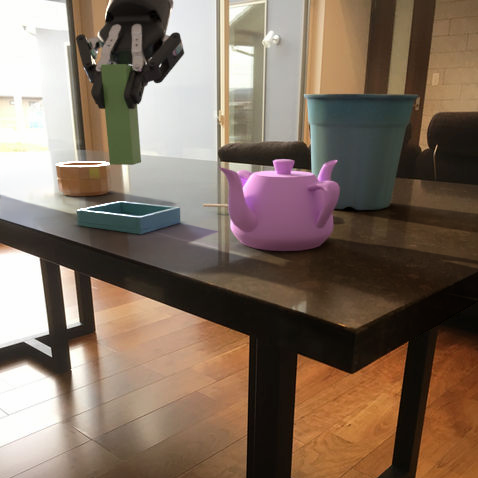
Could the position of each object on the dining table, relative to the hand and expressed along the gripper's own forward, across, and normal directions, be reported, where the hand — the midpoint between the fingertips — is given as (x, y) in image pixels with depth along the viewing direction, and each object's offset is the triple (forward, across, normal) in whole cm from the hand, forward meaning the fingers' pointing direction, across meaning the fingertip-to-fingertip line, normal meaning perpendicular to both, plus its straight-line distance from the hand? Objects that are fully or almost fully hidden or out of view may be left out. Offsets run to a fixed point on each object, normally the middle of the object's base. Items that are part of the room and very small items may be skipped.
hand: (114, 102), depth 60 cm
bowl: (-9, -18, +29) cm, 35 cm away
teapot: (+13, +20, +8) cm, 25 cm away
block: (+3, 0, +6) cm, 7 cm away
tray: (+9, 0, +12) cm, 15 cm away
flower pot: (-6, +29, +27) cm, 40 cm away
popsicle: (+1, +15, +20) cm, 25 cm away
